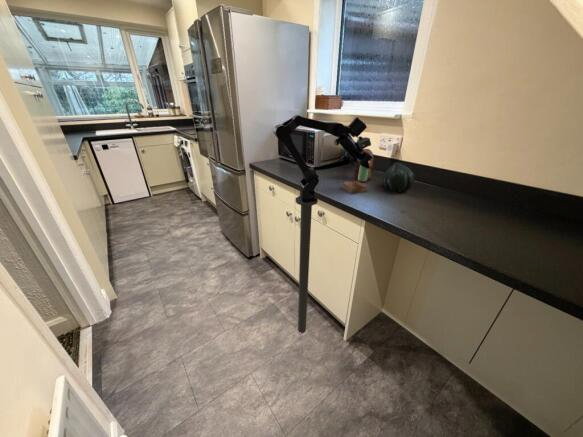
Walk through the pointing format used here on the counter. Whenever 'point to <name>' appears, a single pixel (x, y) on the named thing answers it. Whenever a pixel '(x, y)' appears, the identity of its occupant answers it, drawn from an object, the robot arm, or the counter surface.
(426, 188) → the counter surface
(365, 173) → the peg doll
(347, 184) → the walnut block
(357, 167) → the wooden figurine
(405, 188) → the squash
